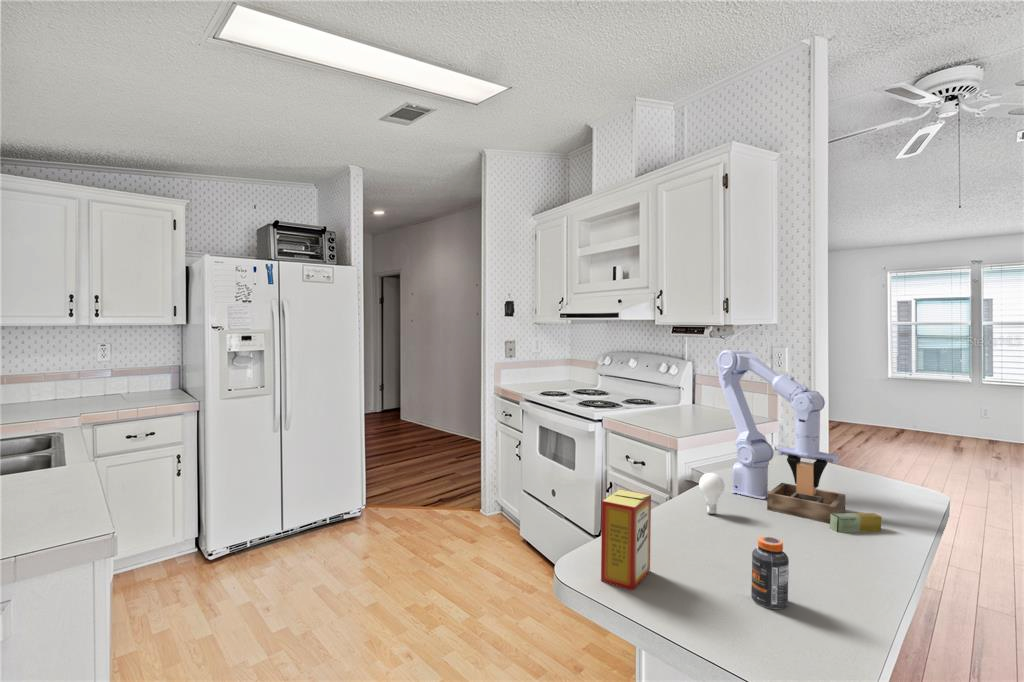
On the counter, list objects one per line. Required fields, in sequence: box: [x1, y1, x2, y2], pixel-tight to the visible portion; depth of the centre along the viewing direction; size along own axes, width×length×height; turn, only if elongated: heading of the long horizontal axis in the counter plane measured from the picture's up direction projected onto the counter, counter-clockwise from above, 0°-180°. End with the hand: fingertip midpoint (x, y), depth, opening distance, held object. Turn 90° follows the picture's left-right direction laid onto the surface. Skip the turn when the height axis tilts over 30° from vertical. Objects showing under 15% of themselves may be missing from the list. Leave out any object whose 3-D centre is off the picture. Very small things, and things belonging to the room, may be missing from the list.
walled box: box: [766, 482, 846, 524], centre depth 142 cm, size 16×14×4 cm
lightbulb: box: [698, 472, 726, 515], centre depth 139 cm, size 6×6×11 cm
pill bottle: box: [750, 535, 790, 610], centre depth 94 cm, size 6×6×11 cm
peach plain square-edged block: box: [795, 460, 817, 496], centre depth 142 cm, size 4×4×8 cm
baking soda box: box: [600, 488, 652, 591], centre depth 103 cm, size 10×6×16 cm
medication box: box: [829, 512, 883, 533], centre depth 129 cm, size 12×3×4 cm, turn 96°
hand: (806, 484), depth 142 cm, fingers closed on peach plain square-edged block, 4 cm apart
